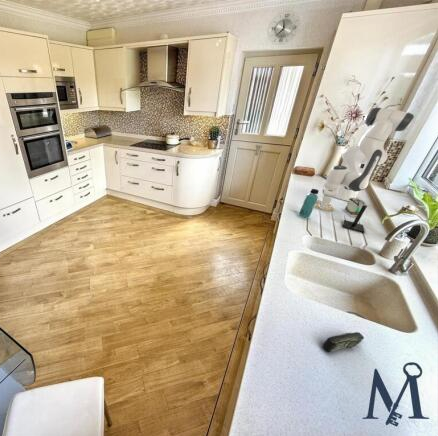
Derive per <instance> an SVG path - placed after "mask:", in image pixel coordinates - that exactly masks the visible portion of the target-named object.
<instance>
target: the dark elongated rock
mask: <svg viewBox="0 0 438 436" xmlns="http://www.w3.org/2000/svg"><path fill="white" fill-rule="evenodd" d="M364 338H365V337H364V335H363V334H361V332H359V331H356V332H344V333H341V334H337V335H333V336H330V337H327V338H326V340H325V341H324V342H323V344H322V348H323V349H324V351H325V352H326V353H331V352H335V351H338V350H341V349H350V348H351V349H352V348H354V347H356V346H357V345H359V344H360V343H361V342H362V341H363V340H364Z"/></svg>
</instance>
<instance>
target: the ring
mask: <svg viewBox="0 0 438 436" xmlns="http://www.w3.org/2000/svg"><path fill="white" fill-rule="evenodd" d="M318 203H319V204H321V200H320V199H319V200H318V199H317V201H316V203H315V205H314V207H313V208H317V209H320V205H318ZM333 209H334V207H333V205H332V204H331V203H329V205H328V206H327V207H324V208H323V209H322V210H323V211H331V210H333Z"/></svg>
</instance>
